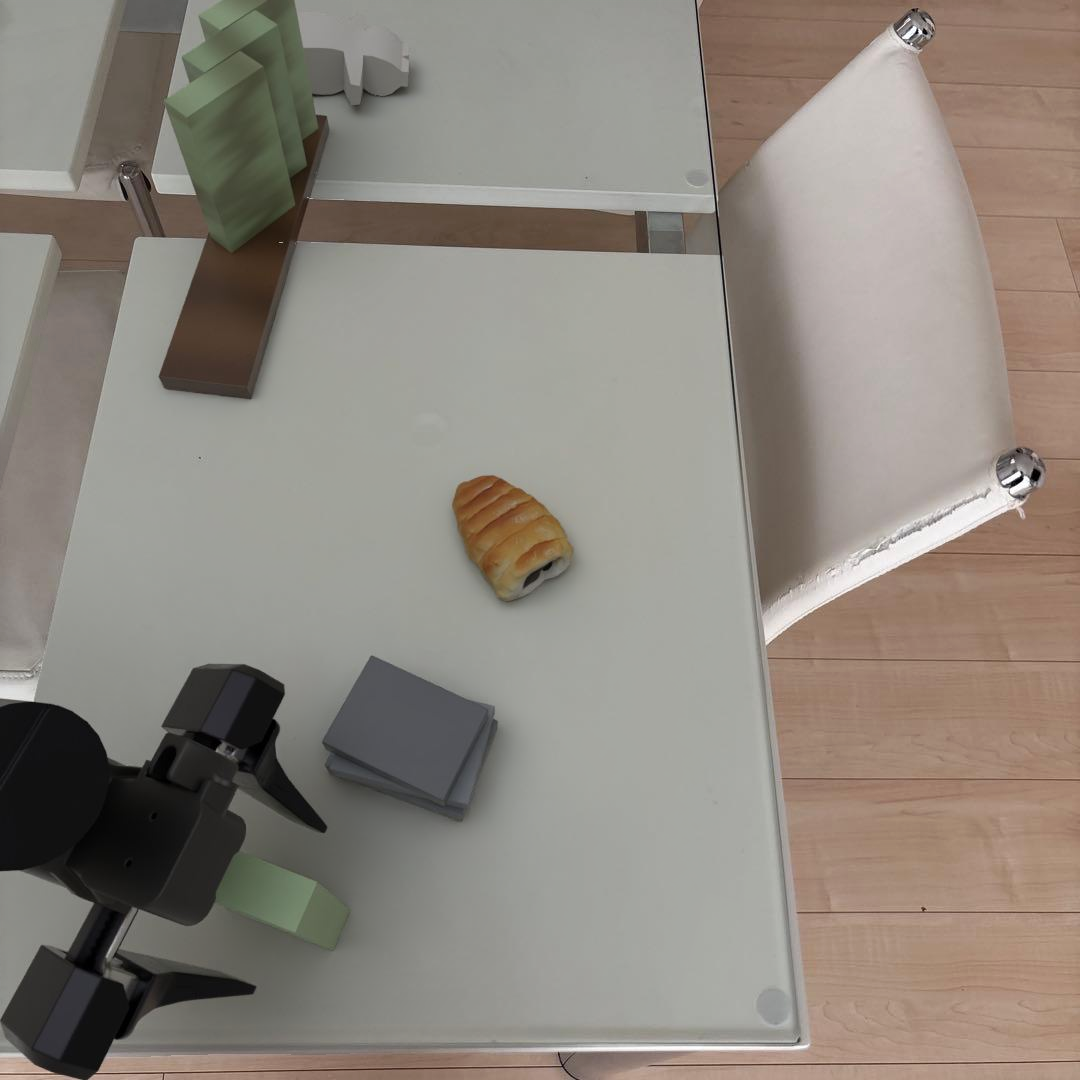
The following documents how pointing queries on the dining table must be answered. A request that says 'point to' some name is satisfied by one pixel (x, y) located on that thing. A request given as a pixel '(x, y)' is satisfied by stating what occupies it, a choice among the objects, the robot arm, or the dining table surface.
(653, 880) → the dining table surface
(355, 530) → the dining table surface
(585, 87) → the dining table surface
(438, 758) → the grey books
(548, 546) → the pastry
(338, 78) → the white curved block
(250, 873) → the green book
